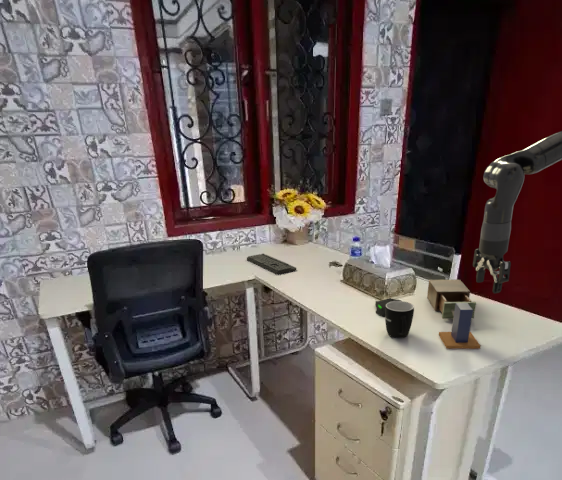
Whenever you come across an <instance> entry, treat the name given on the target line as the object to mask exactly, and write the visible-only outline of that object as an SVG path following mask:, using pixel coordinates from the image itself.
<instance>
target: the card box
mask: <svg viewBox="0 0 562 480" xmlns="http://www.w3.org/2000/svg"><path fill="white" fill-rule="evenodd" d="M472 313H473V309H472V308H471V307H470V305H469V304H468V303H456V304H455V311H454V318H453V319H452V325H451V326H452V327H451V331H450V332H451V336H452V337H453V339H454V340H455V342H456V343H467V342H468V337H469V332H471V331H470V330H471V325H472V319H473V318H472Z"/></svg>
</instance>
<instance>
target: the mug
mask: <svg viewBox="0 0 562 480" xmlns="http://www.w3.org/2000/svg"><path fill="white" fill-rule="evenodd" d="M414 313H415V305H414V304H413V303H411V302H409V301H404V300H401V301H392V302H389V303H387V304H386V307H385V317H384V318H385V319H384V320H385V330H386V333H387V334H388V335H389V337H391V338H395V339H402V338H403V339H404V338H406V337H407V336H408V335H409V333H410V331H411V327H412V324H413V320H414Z"/></svg>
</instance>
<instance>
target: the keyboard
mask: <svg viewBox="0 0 562 480" xmlns="http://www.w3.org/2000/svg"><path fill="white" fill-rule="evenodd" d="M246 261H247V262H249V263H251V264H254V265H256V266H258V267H260V268H262V269H265V270H267V271H269V272H271V273H272V274H275V275H282V274H287V273H291V272H297V267H296V266H293V265H291V264H289V263H287V262H285V261H282V260H280V259H278V258H275V257H273V256H271V255H268V254H265V253H259V254H253V255H248V256H247V257H246Z"/></svg>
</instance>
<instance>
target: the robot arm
mask: <svg viewBox="0 0 562 480" xmlns="http://www.w3.org/2000/svg"><path fill="white" fill-rule="evenodd" d="M560 161H562V130H560V131H558V132H555V133H553V134H551V135H549V136H547V137H545V138H541V140H538V141H537V142H535V143H532V144H531V145H530V146H528V147H526V148H524V149H522V150H518V151H515V152H512V153H510V154H507V155H506V154H505V155H504V156H501V157H499V158H497V159H495V160H494V161H492V162H491V163H490V164H489V165H488V166H486V168H485V169H484V172H483V175H482V178H483V182H484V183H485V184H486V185H487V186H488V187H490V188H492V189H496V192H495V195H494V197H491V198H489V199H488V200H486V203H485V206H484V213H483V220H482V225H481V229H480V238H479V246H478V248H475V250H474V254H473V259H472V267H473V268H475V271H476V275H475V282H476V283H478V284H479V283H483V282H484V281H485V276H486V275H485V274H486V269H487V270H488V271H489V272H490V275H491V276H492V278H493V280H494V281H493V285H492V293H493V294H499V293H501V292H502V288H503V283H506V282H509V280H510V275H511V266H512V262H511V261H510V260H509V261H506V260H504V255H505V254H506V253H508V250H509V243H510V236H511V231H512V219H513V212H514V205H515V203H516V201H517V200H518V196H519V194H520V192H521V191H522V187H523V184H524V181H525V175H533V174H537V173H539V172H541V171H543V170H544V169H547V168H548V167H550V166H553V165H554V164H556V163H558V162H560Z"/></svg>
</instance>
